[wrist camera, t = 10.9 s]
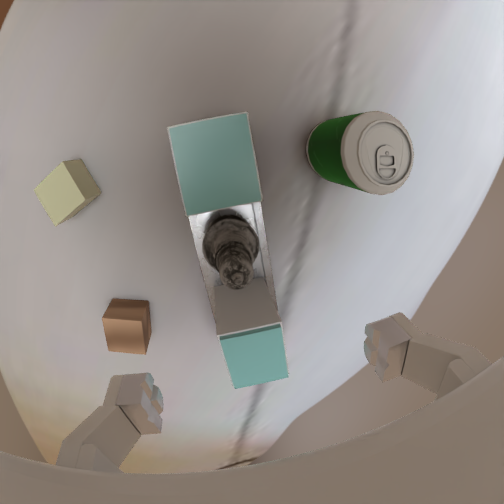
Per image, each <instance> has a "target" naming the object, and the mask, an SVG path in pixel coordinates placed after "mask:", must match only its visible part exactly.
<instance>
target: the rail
mask: <svg viewBox="0 0 504 504" xmlns="http://www.w3.org/2000/svg"><path fill="white" fill-rule="evenodd" d="M223 215H236V216H239V217H240V218H242V219H244V220H245V221H246V222H247V223H248V224H249V225H250V226H251V227H252V228H253V229H254V230H255V232H256V234H257V236H258V239H259V252H258V256H257V258H256V259H255V261H254V263H253V270H254V275H253V278H252V279H254V278H259V277H263V278H264V280H265V282H266V285H267V287H268V290H269V292H270V294H271V297H272V299H273V302H274V304H275V306H276V309H277V302H276V296H275V289H274V283H273V277H272V270H271V264H270V258H269V251H268V245H267V239H266V233H265V227H264V221H263V215H262V209H261V203H260V202H257V203H251V204H246V205H241V206H236V207H231V208H226V209H222V210H217V211H212V212H207V213H203V214H198V215H193V216H189V222H190V226H191V230H192V234H193V239H194V243H195V247H196V251H197V255H198V259H199V263H200V267H201V271H202V275H203V278H204V282H205V286H206V290H207V293H208V297H209V301H210V304H211V308H212V312H213V315H214V319H215V322H216V311H215V292H214V287H217V286H221V285H224V284H223V282H222V281H221V279H220V276H219V273H218V271H217V270H215V269H213V268H212V267H211V266H210V265H209V264H208V263H207V261H206V260H205V258H204V255H203V252H202V242H203V238H204V236H205V234H206V231H207V228H208V226H209V225H210V223H211V222H212V221H213V220H214V219H216V218H218V217H219V216H223ZM277 311H278V309H277Z"/></svg>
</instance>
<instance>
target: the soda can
mask: <svg viewBox="0 0 504 504" xmlns="http://www.w3.org/2000/svg"><path fill="white" fill-rule="evenodd" d="M306 153H307V157H308V161H309V163H310V165H311V167H312V169H313V170H314V171H315V172H316V173H317V174H318V175H319V176H320V177H322V178H324V179H326V180H328V181H331V182H334V183H338V184H341V185H345V186H348V187H351V188H355V189H358V190H361V191H364V192H367V193H371V194H378V195H384V194H388V193H392V192H394V191H395V190H397V189H398V188H400V187H401V186H402V185H403V184H404V182H405V181H406V180H407V178H408V177H409V174H410V171H411V169H412V166H413V158H414V152H413V146H412V141H411V139H410V137H409V134H408V132H407V130H406V129H405V127H404V126H403V125H402V124H401V122H400V121H399V120H397V119H396V118H395V117H393V116H392V115H390V114H387V113H384V112H380V111H372V112H365V113H359V114H354V115H349V116H344V117H339V118H335V119H330V120H326V121H324V122H322V123H320V124H318V125H317V126H316V127H315V128H314V129H313V130H312V132H311V133H310V135H309V138H308V140H307V148H306Z"/></svg>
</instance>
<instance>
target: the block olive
mask: <svg viewBox="0 0 504 504" xmlns="http://www.w3.org/2000/svg"><path fill="white" fill-rule="evenodd" d="M34 191H35V193H36V195H37V197H38V198H39V200H40V202H41V204H42V205H43V207H44V209H45V210H46V212H47V214H48V215H49V217H50V219H51V220H52V222H53V224H54V225H55V226H57V225H59V224H61V223H62V222H64V221H66V220H68V219H69V218H71V217H73V216H74V215H76V214H77V213H78V212H79V211H80V210H81V209H83V208H84V207H85V206H86V205H87V204H89V203H90V202H91V201H92V200H93V199H95V198H96V197H97V196H98V195H100V194H101V191H100V189H99V188H98V186H97V185H96V183H95V181H94V180H93V178H92V176H91V175H90V173H89V171H88V170H87V168H86V166H85V165H84V163H83V161H82V160H81V159H79V160H71V161H63V162H62V163H61V164H59V165H58V166H57V167H56V168H55V169H54V170H53V171H52V172H51V173H50V174H49V175H48V176H47V177H46V178H45V179H44V180H43V181H42V182H41V183H40V184H39V185H38V186H37V187H36V188H35V189H34Z"/></svg>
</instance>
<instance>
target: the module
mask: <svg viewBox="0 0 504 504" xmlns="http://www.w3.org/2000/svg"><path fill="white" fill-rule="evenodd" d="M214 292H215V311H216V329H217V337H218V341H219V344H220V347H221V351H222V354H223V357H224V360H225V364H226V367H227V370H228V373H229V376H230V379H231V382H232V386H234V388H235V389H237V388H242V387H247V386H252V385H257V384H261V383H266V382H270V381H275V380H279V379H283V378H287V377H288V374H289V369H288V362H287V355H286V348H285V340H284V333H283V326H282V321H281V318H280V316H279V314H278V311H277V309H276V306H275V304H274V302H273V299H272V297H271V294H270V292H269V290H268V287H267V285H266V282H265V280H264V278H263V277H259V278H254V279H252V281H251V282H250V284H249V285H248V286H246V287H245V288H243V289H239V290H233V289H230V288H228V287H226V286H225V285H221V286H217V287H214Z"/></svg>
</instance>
